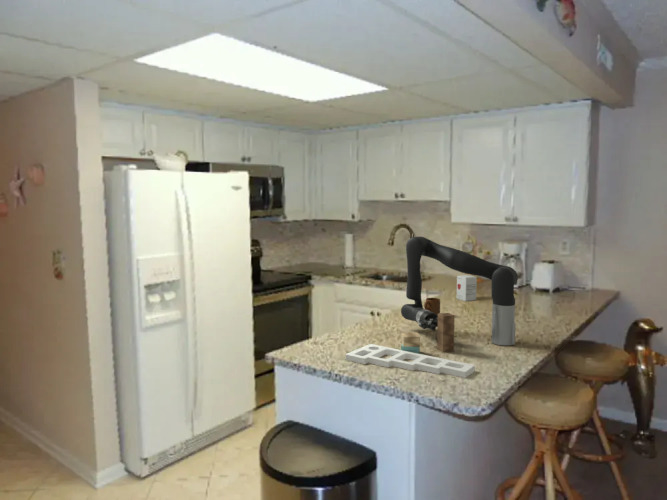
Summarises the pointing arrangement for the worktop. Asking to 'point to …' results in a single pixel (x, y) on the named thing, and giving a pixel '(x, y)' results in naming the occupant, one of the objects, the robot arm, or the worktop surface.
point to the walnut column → (445, 332)
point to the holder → (420, 360)
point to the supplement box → (466, 287)
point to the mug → (432, 305)
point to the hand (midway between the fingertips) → (444, 327)
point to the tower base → (411, 349)
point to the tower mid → (410, 339)
